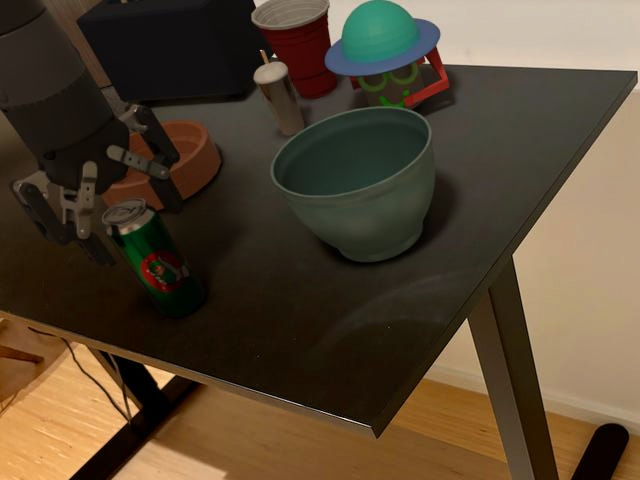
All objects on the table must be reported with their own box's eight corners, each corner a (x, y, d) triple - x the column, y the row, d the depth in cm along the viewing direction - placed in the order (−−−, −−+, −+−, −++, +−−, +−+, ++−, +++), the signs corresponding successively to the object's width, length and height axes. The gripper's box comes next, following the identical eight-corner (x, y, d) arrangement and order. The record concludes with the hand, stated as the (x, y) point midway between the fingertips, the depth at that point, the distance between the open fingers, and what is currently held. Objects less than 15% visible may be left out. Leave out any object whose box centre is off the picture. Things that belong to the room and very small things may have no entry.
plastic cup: (333, 108, 101) (303, 22, 93) (270, 108, 105) (235, 25, 97) (367, 70, 108) (341, -14, 99) (306, 71, 112) (276, -10, 103)
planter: (83, 96, 122) (-8, -49, 106) (81, 75, 129) (-5, -64, 112) (140, 75, 124) (60, -72, 107) (135, 56, 130) (59, -85, 114)
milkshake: (306, 114, 102) (278, 44, 94) (312, 131, 98) (283, 59, 91) (275, 125, 101) (245, 55, 94) (279, 142, 97) (249, 71, 90)
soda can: (170, 290, 79) (109, 198, 70) (213, 285, 78) (157, 191, 69) (154, 323, 75) (89, 230, 67) (199, 317, 75) (138, 223, 66)
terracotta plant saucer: (156, 228, 88) (137, 198, 85) (85, 204, 96) (64, 175, 93) (246, 159, 96) (231, 128, 93) (173, 142, 104) (157, 113, 100)
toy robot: (346, 151, 92) (307, 43, 82) (346, 98, 103) (312, -5, 93) (461, 124, 92) (435, 11, 82) (449, 73, 102) (425, -33, 92)
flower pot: (374, 180, 86) (345, 95, 79) (483, 209, 78) (463, 117, 70) (280, 262, 79) (237, 177, 71) (390, 303, 70) (355, 212, 63)
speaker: (279, 62, 116) (240, -38, 105) (245, 103, 108) (198, 0, 97) (167, 72, 122) (119, -21, 111) (126, 112, 114) (70, 15, 103)
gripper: (83, 35, 64) (173, 189, 76) (-63, 118, 57) (61, 274, 69) (133, 41, 61) (220, 202, 72) (-17, 131, 53) (107, 293, 65)
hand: (142, 237), depth 70 cm, fingers open, 8 cm apart
